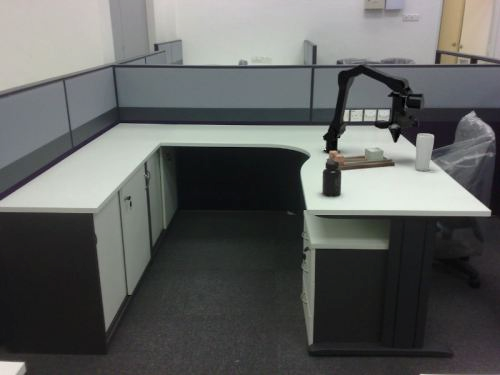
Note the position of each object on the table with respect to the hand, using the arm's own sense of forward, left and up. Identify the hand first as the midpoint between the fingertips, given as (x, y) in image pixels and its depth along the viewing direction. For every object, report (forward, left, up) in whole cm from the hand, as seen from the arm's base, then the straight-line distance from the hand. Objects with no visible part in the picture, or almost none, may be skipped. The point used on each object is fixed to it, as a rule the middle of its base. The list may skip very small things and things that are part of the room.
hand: (395, 142), depth 209 cm
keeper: (0, -10, -7) cm, 12 cm away
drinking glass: (+15, +5, -9) cm, 18 cm away
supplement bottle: (+33, -43, -9) cm, 55 cm away
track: (0, -16, -9) cm, 19 cm away
